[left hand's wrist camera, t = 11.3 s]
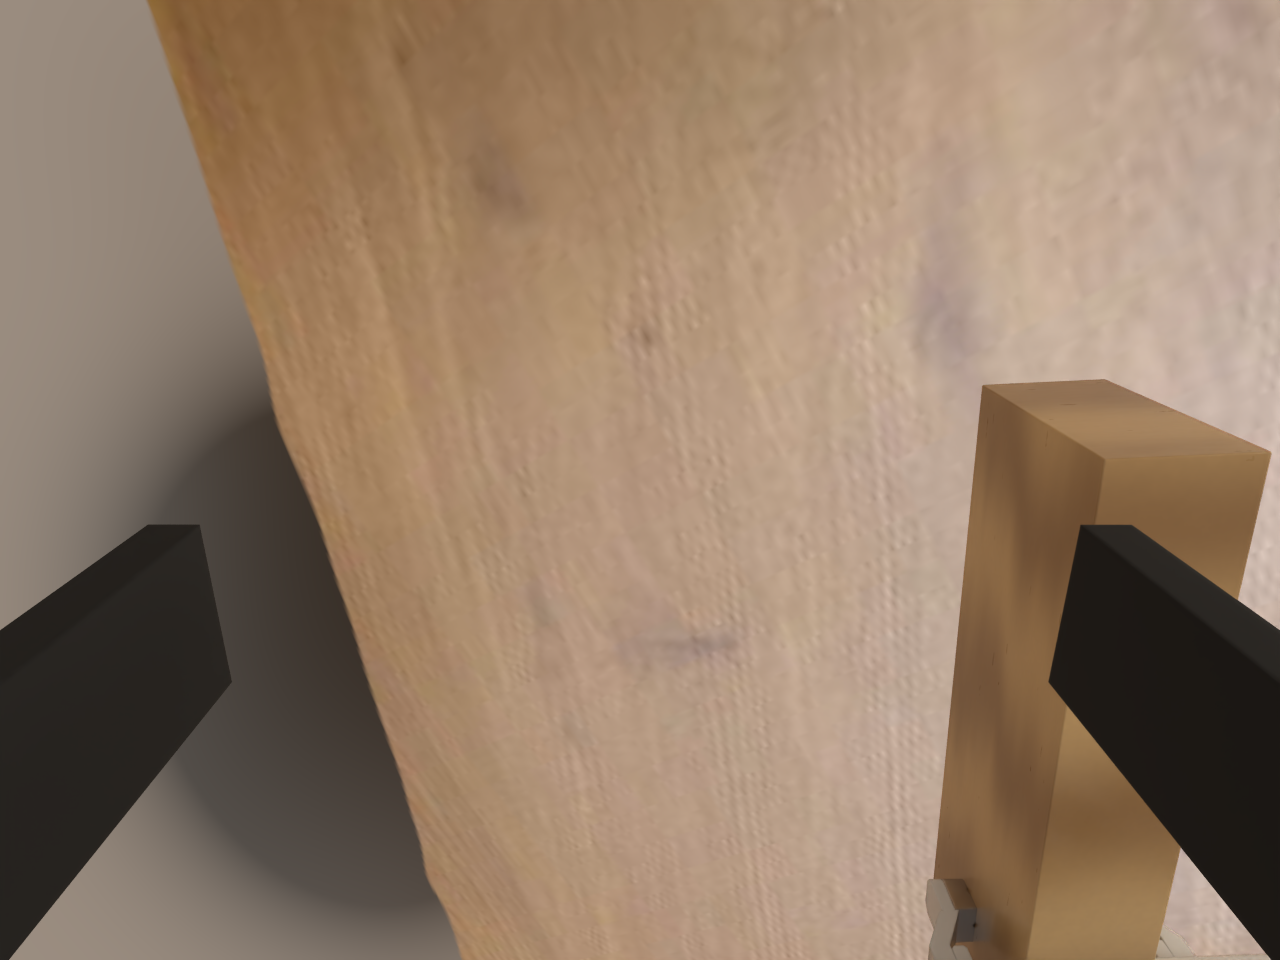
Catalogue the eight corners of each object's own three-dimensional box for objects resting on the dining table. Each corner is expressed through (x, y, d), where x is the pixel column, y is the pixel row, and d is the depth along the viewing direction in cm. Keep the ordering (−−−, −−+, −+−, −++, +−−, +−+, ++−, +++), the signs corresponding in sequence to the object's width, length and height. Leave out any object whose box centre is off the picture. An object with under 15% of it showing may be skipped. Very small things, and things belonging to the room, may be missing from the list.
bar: (981, 384, 30) (1104, 458, 22) (1105, 378, 30) (1273, 451, 22) (931, 894, 38) (1006, 1081, 30) (1027, 891, 38) (1128, 1076, 30)
